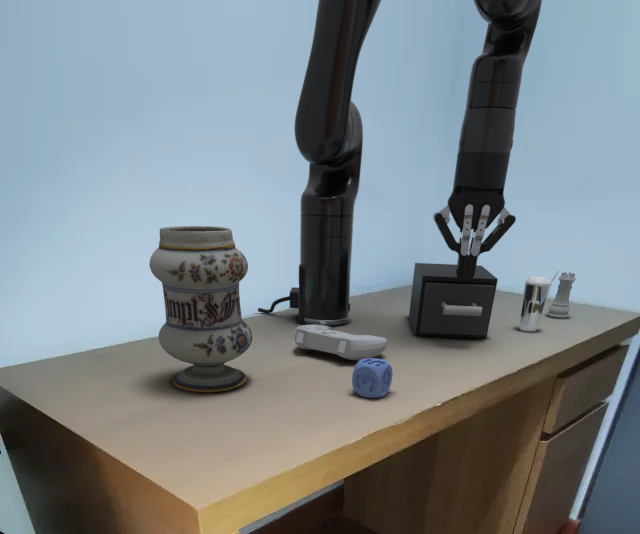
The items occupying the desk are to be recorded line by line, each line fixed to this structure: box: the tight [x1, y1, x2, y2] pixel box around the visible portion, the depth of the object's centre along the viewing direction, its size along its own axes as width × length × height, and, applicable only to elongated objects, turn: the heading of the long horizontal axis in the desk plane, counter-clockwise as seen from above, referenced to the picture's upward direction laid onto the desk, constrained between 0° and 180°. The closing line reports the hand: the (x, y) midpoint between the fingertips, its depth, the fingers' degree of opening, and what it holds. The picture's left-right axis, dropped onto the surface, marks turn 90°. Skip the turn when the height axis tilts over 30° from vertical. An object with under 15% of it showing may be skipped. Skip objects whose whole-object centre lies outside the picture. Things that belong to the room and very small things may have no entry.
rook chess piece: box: [546, 271, 576, 320], centre depth 115 cm, size 4×4×8 cm
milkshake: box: [518, 270, 560, 333], centre depth 104 cm, size 4×5×10 cm
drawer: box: [420, 281, 495, 336], centre depth 100 cm, size 19×11×8 cm, turn 177°
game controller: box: [294, 321, 388, 361], centre depth 89 cm, size 14×4×10 cm
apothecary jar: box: [148, 225, 253, 393], centre depth 72 cm, size 12×12×18 cm
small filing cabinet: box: [408, 262, 499, 340], centre depth 104 cm, size 15×13×10 cm
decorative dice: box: [351, 357, 393, 399], centre depth 74 cm, size 4×4×4 cm
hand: (464, 281), depth 93 cm, fingers closed
